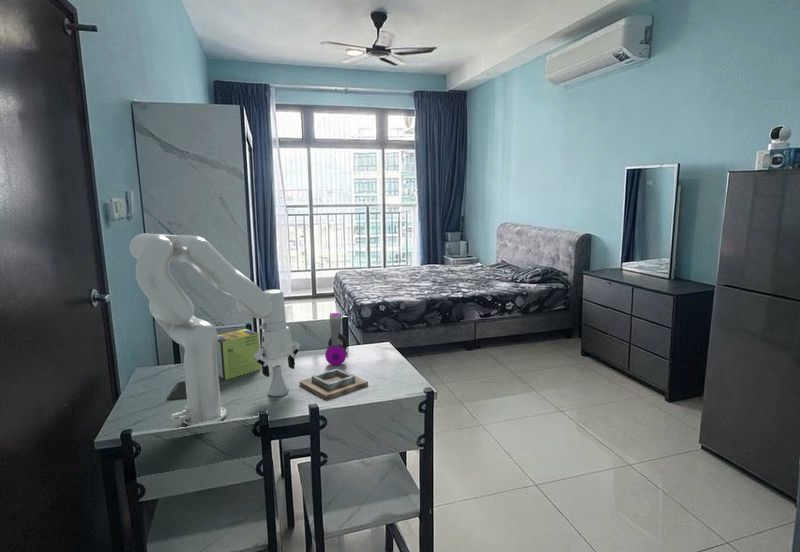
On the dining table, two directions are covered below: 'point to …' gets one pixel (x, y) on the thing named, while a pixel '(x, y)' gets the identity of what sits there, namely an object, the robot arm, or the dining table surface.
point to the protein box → (237, 353)
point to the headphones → (336, 342)
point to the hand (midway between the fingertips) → (279, 371)
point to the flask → (278, 383)
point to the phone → (178, 391)
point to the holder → (333, 383)
